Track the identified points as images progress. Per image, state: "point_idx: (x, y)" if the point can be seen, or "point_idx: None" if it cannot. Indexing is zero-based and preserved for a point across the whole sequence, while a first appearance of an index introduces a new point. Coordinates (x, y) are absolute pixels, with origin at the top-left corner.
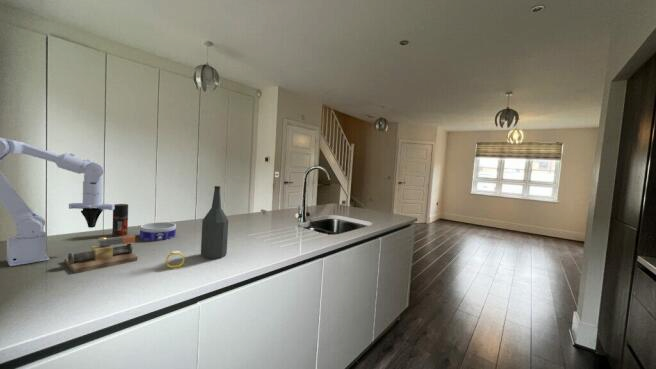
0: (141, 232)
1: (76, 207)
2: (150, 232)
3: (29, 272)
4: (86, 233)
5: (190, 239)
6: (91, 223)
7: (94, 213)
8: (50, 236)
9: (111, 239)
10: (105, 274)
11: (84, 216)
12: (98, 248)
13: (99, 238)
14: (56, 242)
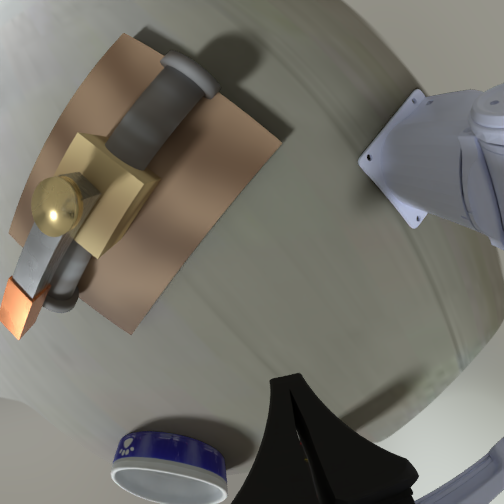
0: (197, 461)
1: (470, 477)
2: (151, 457)
3: (309, 28)
4: (394, 425)
5: (68, 435)
6: (277, 402)
7: (242, 499)
8: (457, 374)
9: (33, 238)
10: (34, 74)
11: (357, 439)
12: (81, 160)
13: (60, 191)
14: (434, 348)
